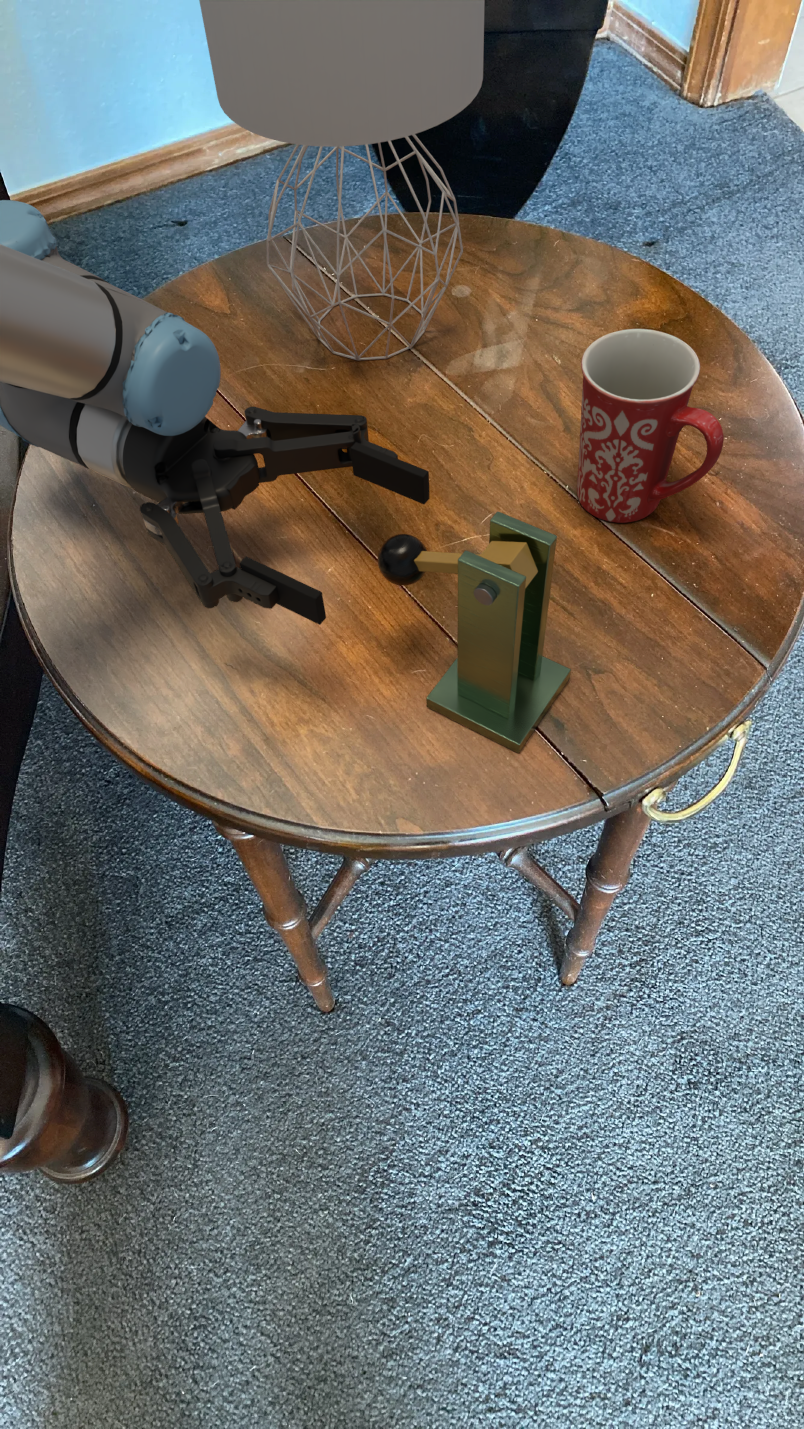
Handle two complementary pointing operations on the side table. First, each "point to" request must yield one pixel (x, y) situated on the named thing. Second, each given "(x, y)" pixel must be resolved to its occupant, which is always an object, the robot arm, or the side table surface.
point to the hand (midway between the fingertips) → (376, 546)
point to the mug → (637, 422)
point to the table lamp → (348, 103)
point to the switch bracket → (502, 642)
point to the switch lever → (445, 559)
